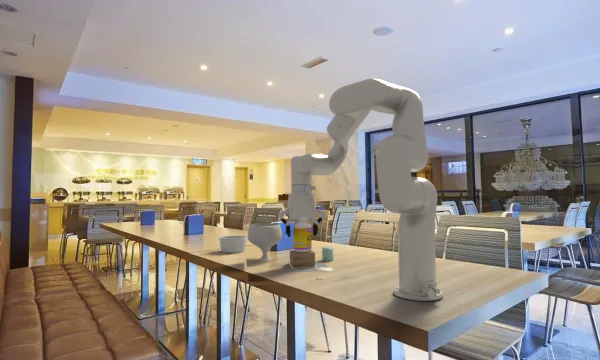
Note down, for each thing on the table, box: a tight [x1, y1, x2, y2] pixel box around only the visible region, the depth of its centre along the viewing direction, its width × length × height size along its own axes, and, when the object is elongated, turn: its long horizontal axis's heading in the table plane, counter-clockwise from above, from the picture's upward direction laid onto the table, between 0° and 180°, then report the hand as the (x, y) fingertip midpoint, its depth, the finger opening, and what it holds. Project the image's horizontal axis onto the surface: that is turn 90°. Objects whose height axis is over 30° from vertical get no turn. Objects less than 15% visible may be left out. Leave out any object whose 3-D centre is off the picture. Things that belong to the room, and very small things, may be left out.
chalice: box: [247, 223, 283, 262], centre depth 141 cm, size 14×14×15 cm
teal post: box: [321, 246, 334, 262], centre depth 137 cm, size 4×4×6 cm
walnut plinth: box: [289, 249, 316, 268], centre depth 129 cm, size 8×8×5 cm
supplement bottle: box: [293, 217, 313, 252], centre depth 129 cm, size 7×7×13 cm
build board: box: [288, 261, 334, 273], centre depth 125 cm, size 17×14×1 cm
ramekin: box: [218, 235, 248, 254], centre depth 169 cm, size 13×13×7 cm
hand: (301, 236), depth 129 cm, fingers open, 9 cm apart
